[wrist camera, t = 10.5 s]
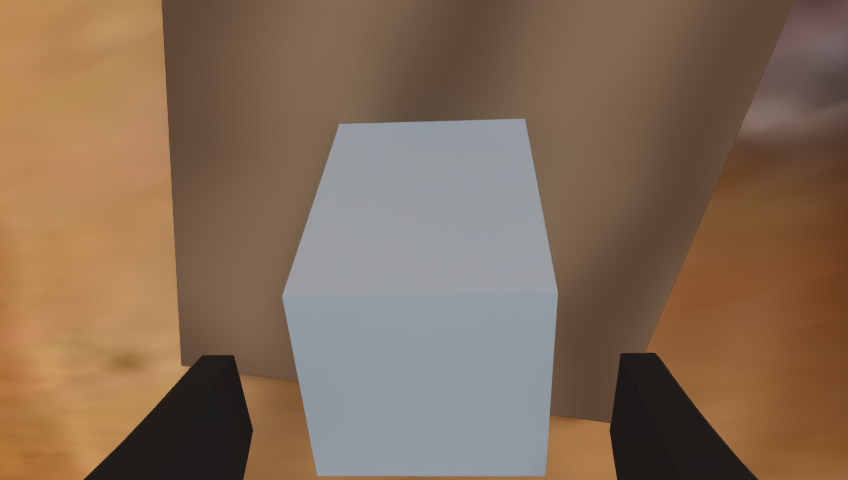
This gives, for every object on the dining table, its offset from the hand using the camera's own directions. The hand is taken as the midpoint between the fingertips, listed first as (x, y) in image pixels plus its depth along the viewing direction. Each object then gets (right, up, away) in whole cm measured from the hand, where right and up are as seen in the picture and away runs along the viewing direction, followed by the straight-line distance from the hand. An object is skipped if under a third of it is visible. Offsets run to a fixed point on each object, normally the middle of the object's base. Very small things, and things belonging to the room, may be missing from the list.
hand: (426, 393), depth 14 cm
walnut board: (0, +5, +7) cm, 9 cm away
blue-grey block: (0, +4, +5) cm, 7 cm away
